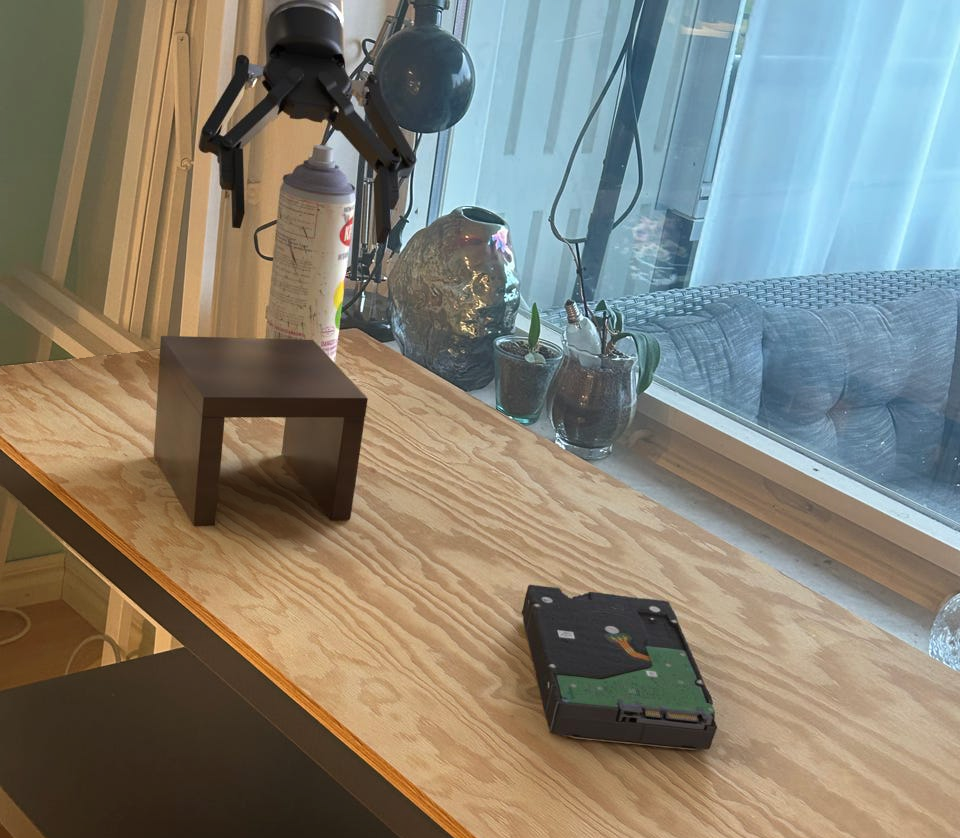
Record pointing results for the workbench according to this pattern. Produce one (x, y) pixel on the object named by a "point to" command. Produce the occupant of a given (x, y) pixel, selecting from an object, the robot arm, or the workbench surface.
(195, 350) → the shelf
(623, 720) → the disk drive
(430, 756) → the workbench surface
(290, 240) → the aerosol can
